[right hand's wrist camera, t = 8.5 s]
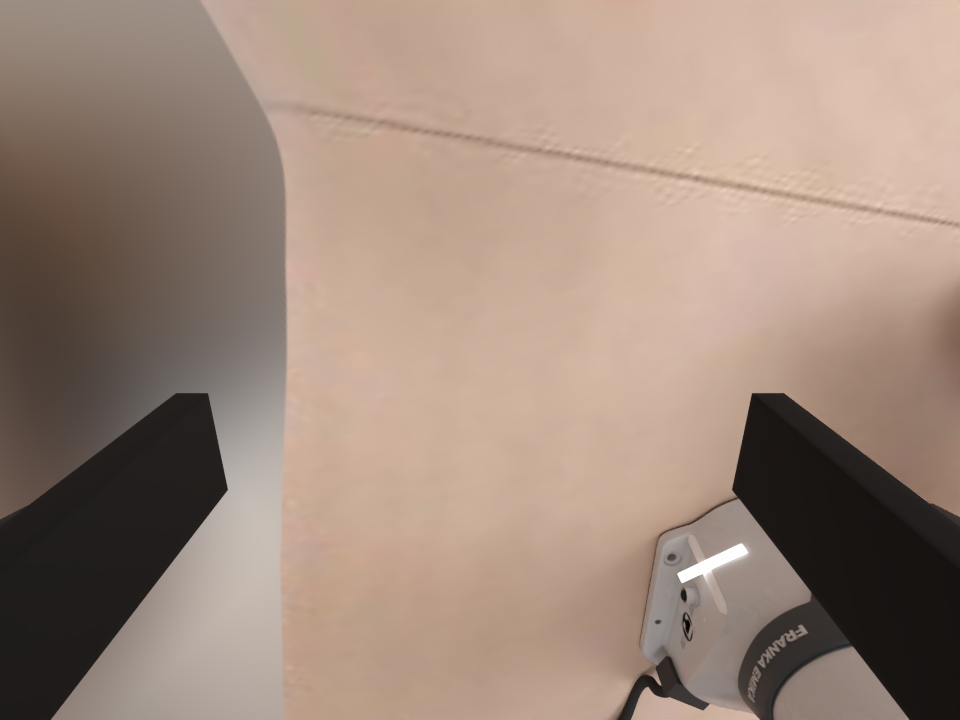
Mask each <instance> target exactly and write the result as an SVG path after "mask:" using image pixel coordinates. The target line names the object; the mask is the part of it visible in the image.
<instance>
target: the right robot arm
mask: <svg viewBox="0 0 960 720" xmlns="http://www.w3.org/2000/svg"><path fill="white" fill-rule="evenodd" d="M227 490H228V488H227V483H226V478H225V474H224V469H223V464H222V459H221V454H220V450H219V445H218V440H217V435H216V430H215V425H214V420H213V416H212V411H211V406H210V401H209V396H208V393H176V394H175V395H173V396H172V397H171V398H169V399H168V400H167V401H165V402H164V403H163V404H161V405H160V406H159V407H157V408H156V409H155V410H154V411H152V412H151V413H150V414H148V415H147V416H146V417H144V418H143V419H142V420H140V421H139V422H138V423H136V424H135V425H134V426H132V427H131V428H130V429H129V430H127V431H126V432H125V433H123V434H122V435H121V436H119V437H118V438H117V439H115V440H114V441H113V442H111V443H110V444H109V445H107V446H106V447H105V448H103V449H102V450H101V451H100V452H98V453H97V454H96V455H94V456H93V457H92V458H90V459H89V460H88V461H86V462H85V463H84V464H82V465H81V466H80V467H78V468H77V469H76V470H75V471H73V472H72V473H71V474H69V475H68V476H67V477H65V478H64V479H63V480H61V481H60V482H59V483H57V484H56V485H55V486H53V487H52V488H51V489H49V490H48V491H47V492H46V493H44V494H43V495H42V496H40V497H39V498H38V499H36V500H35V501H34V502H32V503H31V504H30V505H28V506H26V507H24V508H22V509H20V510H18V511H16V512H14V513H12V514H10V515H8V516H6V517H4V518H2V519H0V720H51V719H52V717H53V716H54V715H55V713H56V712H57V711H58V710H59V708H60V707H61V706H62V704H63V703H64V702H65V701H66V699H67V698H68V697H69V695H70V694H71V693H72V691H73V690H74V689H75V687H76V686H77V685H78V684H79V682H80V681H81V680H82V678H83V677H84V676H85V675H86V673H87V672H88V671H89V669H90V668H91V667H92V665H93V664H94V663H95V662H96V660H97V659H98V658H99V656H100V655H101V654H102V652H103V651H104V650H105V648H106V647H107V646H108V645H109V643H110V642H111V641H112V639H113V638H114V637H115V636H116V634H117V633H118V632H119V630H120V629H121V628H122V627H123V625H124V624H125V623H126V621H127V620H128V619H129V617H130V616H131V615H132V614H133V612H134V611H135V610H136V608H137V607H138V606H139V604H140V603H141V602H142V601H143V599H144V598H145V597H146V595H147V594H148V593H149V592H150V590H151V589H152V588H153V586H154V585H155V584H156V582H157V581H158V580H159V578H160V577H161V576H162V575H163V573H164V572H165V571H166V569H167V568H168V567H169V566H170V564H171V563H172V562H173V560H174V559H175V558H176V556H177V555H178V554H179V553H180V551H181V550H182V549H183V547H184V546H185V545H186V543H187V542H188V541H189V540H190V538H191V537H192V536H193V534H194V533H195V532H196V530H197V529H198V528H199V527H200V525H201V524H202V523H203V521H204V520H205V519H206V518H207V516H208V515H209V514H210V512H211V511H212V510H213V508H214V507H215V506H216V505H217V503H218V502H219V501H220V499H221V498H222V497H223V495H224V494H225V493H226V492H227ZM732 490H733V492H734V493H735V494H736V495H737V497H738V498H739V499H740V501H741V502H742V503H743V505H744V506H745V507H746V508H747V510H748V511H749V512H750V514H751V515H752V516H753V518H754V519H755V520H756V521H757V523H758V524H759V525H760V527H761V528H762V529H763V531H764V532H765V533H766V534H767V536H768V537H769V538H770V540H771V541H772V542H773V543H774V545H775V546H776V547H777V549H778V550H779V551H780V553H781V554H782V555H783V556H784V558H785V559H786V560H787V562H788V563H789V564H790V566H791V567H792V568H793V569H794V571H795V572H796V573H797V575H798V576H799V577H800V579H801V580H802V581H803V582H804V584H805V585H806V586H807V588H808V589H809V590H810V592H811V593H812V594H813V595H814V597H815V598H816V599H817V601H818V602H819V603H820V604H821V606H822V607H823V608H824V610H825V611H826V612H827V614H828V615H829V616H830V617H831V619H832V620H833V621H834V623H835V624H836V625H837V627H838V628H839V629H840V630H841V632H842V633H843V634H844V636H845V637H846V638H847V640H848V641H849V642H850V643H851V645H852V646H853V647H854V649H855V650H856V651H857V652H858V654H859V655H860V656H861V658H862V659H863V660H864V662H865V663H866V664H867V665H868V667H869V668H870V669H871V671H872V672H873V673H874V675H875V676H876V677H877V678H878V680H879V681H880V682H881V684H882V685H883V686H884V688H885V689H886V690H887V691H888V693H889V694H890V695H891V697H892V698H893V699H894V701H895V702H896V703H897V704H898V706H899V707H900V708H901V710H902V711H903V712H904V713H905V715H906V716H907V717H908V719H909V720H960V517H958V516H956V515H954V514H952V513H950V512H948V511H946V510H944V509H942V508H940V507H939V506H937V505H935V504H929V503H928V502H926V501H925V500H924V499H922V498H921V497H920V496H918V495H917V494H916V493H914V492H913V491H912V490H911V489H909V488H908V487H907V486H905V485H904V484H903V483H901V482H900V481H899V480H897V479H896V478H895V477H893V476H892V475H891V474H889V473H888V472H887V471H885V470H884V469H883V468H882V467H880V466H879V465H878V464H876V463H875V462H874V461H872V460H871V459H870V458H868V457H867V456H866V455H864V454H863V453H862V452H860V451H859V450H858V449H857V448H855V447H854V446H853V445H851V444H850V443H849V442H847V441H846V440H845V439H843V438H842V437H841V436H839V435H838V434H837V433H835V432H834V431H833V430H831V429H830V428H829V427H828V426H826V425H825V424H824V423H822V422H821V421H820V420H818V419H817V418H816V417H814V416H813V415H812V414H810V413H809V412H808V411H806V410H805V409H804V408H803V407H801V406H800V405H799V404H797V403H796V402H795V401H793V400H792V399H791V398H789V397H788V396H787V395H785V394H784V393H752V396H751V401H750V406H749V411H748V416H747V420H746V425H745V430H744V435H743V440H742V445H741V449H740V454H739V459H738V464H737V469H736V474H735V478H734V483H733V488H732Z"/></svg>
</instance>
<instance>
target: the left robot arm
mask: <svg viewBox="0 0 960 720" xmlns="http://www.w3.org/2000/svg"><path fill="white" fill-rule="evenodd" d="M670 554H672V555H670ZM668 555H670V556H668ZM640 649H641V651H642V653H643V655H644V656H645V657H646V658H647V659H648V660H649V661H651V662H652V663H654V664H655V665H657V666H656V670H657V673H658V676H659V679H660V682H661V685H662V686H660V685H659V684H658V683H657V682H656V680H655V679H654V678H653V677H652V676H649V675H646V676H643V677H641V678H639V679H638V680H637V682H636V683H635V685H634V686H633V688H632V690H631V692H630V695H629V697H628V700H627V702H626V705H625V708H624V710H623V713H622V715H621V717H620V719H619V720H631V718H632V715H633V713H634V710H635V707H636V704H637V701H638V699H639V696H640V694H641V693H642V691H643V690H644V689H645V688H646V687H649V688H650V690H651V691H652V692H653V693H654V694H655V695H657V696H659V697H663V698H667V697H671V698H673V699H676V700H678V701H681V702H683V703H686V704H688V705H691V706H693V707H696V708H698V709H701V710H704V709H705V708H706V707H707V706H708V705H709V704H712V705H715V706H719V707H723V708H727V709H732V710H737V711H742V712H747V713H753V714H755V715H756V716H757V717H758V718H759V719H760V720H909V719H908V717H907V716H906V715H905V713H904V712H903V711H902V710H901V708H900V707H899V706H898V704H897V703H896V702H895V701H894V699H893V698H892V697H891V695H890V694H889V693H888V691H887V690H886V689H885V688H884V686H883V685H882V684H881V682H880V681H879V680H878V678H877V677H876V676H875V675H874V673H873V672H872V671H871V669H870V668H869V667H868V665H867V664H866V663H865V662H864V660H863V659H862V658H861V656H860V655H859V654H858V652H857V651H856V650H855V649H854V647H853V646H852V645H851V643H850V642H849V641H848V640H847V638H846V637H845V636H844V634H843V633H842V632H841V630H840V629H839V628H838V627H837V625H836V624H835V623H834V621H833V620H832V619H831V617H830V616H829V615H828V614H827V612H826V611H825V610H824V608H823V607H822V606H821V604H820V603H819V602H818V601H817V599H816V598H815V597H814V595H813V594H812V593H811V592H810V590H809V589H808V588H807V586H806V585H805V584H804V582H803V581H802V580H801V579H800V577H799V576H798V575H797V573H796V572H795V571H794V569H793V568H792V567H791V566H790V564H789V563H788V562H787V560H786V559H785V558H784V556H783V555H782V554H781V553H780V551H779V550H778V549H777V547H776V546H775V545H774V543H773V542H772V541H771V540H770V538H769V537H768V536H767V534H766V533H765V532H764V531H763V529H762V528H761V527H760V525H759V524H758V523H757V521H756V520H755V519H754V518H753V516H752V515H751V514H750V512H749V511H748V510H747V508H746V507H745V506H744V505H743V503H742V502H741V501H740V499H736V500H733V501H731V502H728V503H726V504H724V505H721V506H720V507H718V508H716V509H714V510H712V511H711V512H709V513H708V514H706V515H705V516H704V517H702V518H701V519H699V520H698V521H696V522H694V523H692V524H690V525H687V526H683V527H680V528H676V529H673V530H671V531H668V532H666V533H664V534H663V535H662V536H661V537H660V538H659V540H658V543H657V548H656V554H655V560H654V565H653V571H652V577H651V582H650V588H649V594H648V599H647V605H646V611H645V617H644V622H643V628H642V634H641V640H640Z"/></svg>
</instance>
